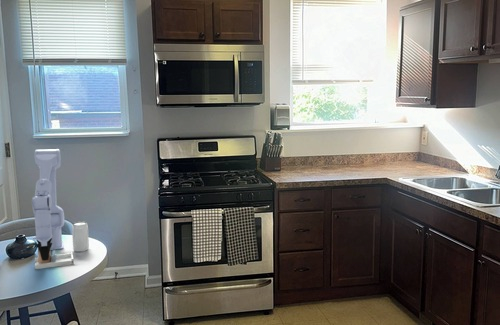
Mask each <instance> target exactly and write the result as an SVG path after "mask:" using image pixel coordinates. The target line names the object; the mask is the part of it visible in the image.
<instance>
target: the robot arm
mask: <svg viewBox="0 0 500 325" xmlns="http://www.w3.org/2000/svg"><path fill="white" fill-rule="evenodd" d="M33 158H34V164H36V166H37V168H39V179H38V180H36V182H35V191H34V196H33V197H32V199H31V206H32V207H31V208H32V211H33V212H32V213H33V216H34V226H35V235H34V236H32V240H36V244H35V245H36V248H37V250H38V249H39V251H40V254H41V258H42V261H45V260H48V259H49V252H51V251H53V250H55V251H56V250H63V249H64V242H63V237H62V233H63V232H62V227H63V226H64V225H65V213H64V209H63V208H62V207H60V206H59V205H57V204H58V203H57V202H58V201H57V176H56V175H57V174H56V173H57V169H60V168H61V165H62V155H61V150H60V149H59V148H56V149H53V148H52V149H35V150H34V154H33Z"/></svg>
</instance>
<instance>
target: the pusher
mask: <svg viewBox="0 0 500 325" xmlns="http://www.w3.org/2000/svg"><path fill="white" fill-rule="evenodd" d="M51 251H52V255H53V262H56V256H55V255H56V249H55V250H51Z"/></svg>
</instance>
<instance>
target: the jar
mask: <svg viewBox="0 0 500 325" xmlns="http://www.w3.org/2000/svg"><path fill="white" fill-rule="evenodd" d="M51 256H52V254H51V251H50V252H49V259H48V260H45V261H42V258H41V254H40V251H39V249H38V248H37V257H38V260H39V264H43V263H50V262H51Z"/></svg>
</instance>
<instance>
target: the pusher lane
mask: <svg viewBox="0 0 500 325" xmlns="http://www.w3.org/2000/svg"><path fill="white" fill-rule="evenodd" d="M55 256H56V262H53V254H51V262H50V263H43V264H39V260H38V256H37V257H34V262H35V264H34V270H41V269H46V268H47V269H49V268H54V267H55V268H56V267H61V266H69V265H74V255H73V251H70V252H68V253H60V254H55Z"/></svg>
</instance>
